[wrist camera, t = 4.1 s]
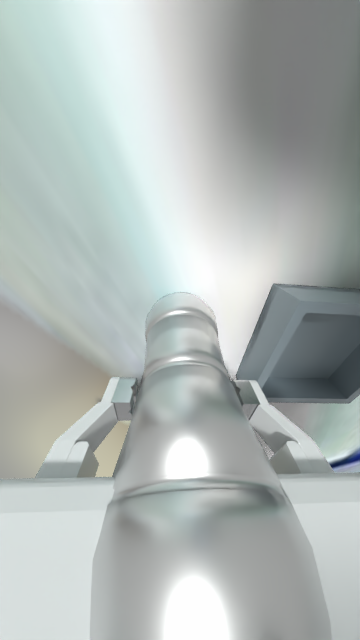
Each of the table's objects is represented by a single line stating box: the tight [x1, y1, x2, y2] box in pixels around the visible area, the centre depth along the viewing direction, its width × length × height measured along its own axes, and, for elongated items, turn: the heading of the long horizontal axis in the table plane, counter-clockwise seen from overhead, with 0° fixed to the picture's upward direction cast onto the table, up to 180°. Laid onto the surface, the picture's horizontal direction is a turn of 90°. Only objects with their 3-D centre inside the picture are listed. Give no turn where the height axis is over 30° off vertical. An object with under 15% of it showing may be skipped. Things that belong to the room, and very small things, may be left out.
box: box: [236, 284, 360, 403], centre depth 18 cm, size 14×14×4 cm
